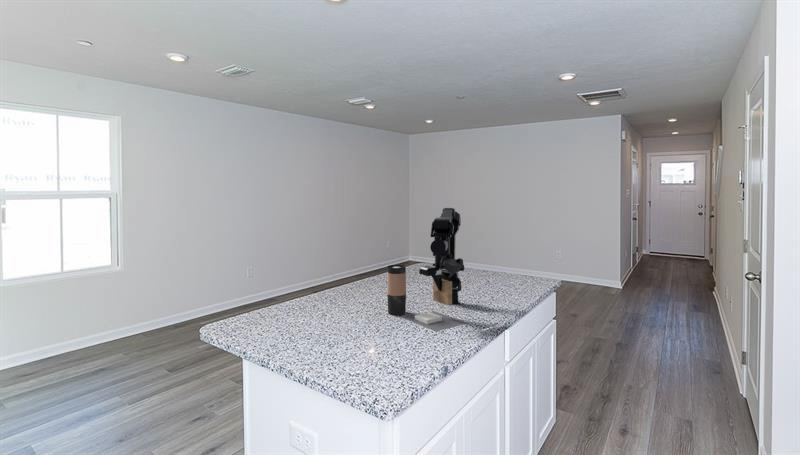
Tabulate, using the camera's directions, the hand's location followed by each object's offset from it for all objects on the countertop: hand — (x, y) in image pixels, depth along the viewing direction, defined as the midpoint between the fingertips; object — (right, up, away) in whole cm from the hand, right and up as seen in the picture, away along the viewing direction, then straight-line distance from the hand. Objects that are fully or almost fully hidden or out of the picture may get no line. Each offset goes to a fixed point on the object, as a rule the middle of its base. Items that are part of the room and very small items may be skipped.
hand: (442, 290), depth 167 cm
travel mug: (-18, -11, +8) cm, 23 cm away
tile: (-3, -10, +1) cm, 11 cm away
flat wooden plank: (0, -5, 0) cm, 5 cm away
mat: (-3, -12, -2) cm, 12 cm away
